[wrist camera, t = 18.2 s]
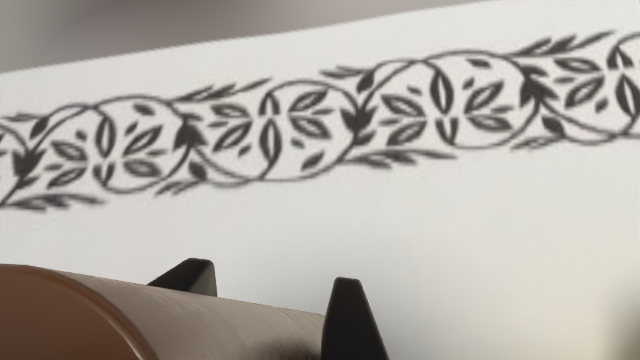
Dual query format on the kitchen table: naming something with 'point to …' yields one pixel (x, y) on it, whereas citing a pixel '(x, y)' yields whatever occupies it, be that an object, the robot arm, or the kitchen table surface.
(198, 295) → the stirring stick
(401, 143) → the kitchen table surface
